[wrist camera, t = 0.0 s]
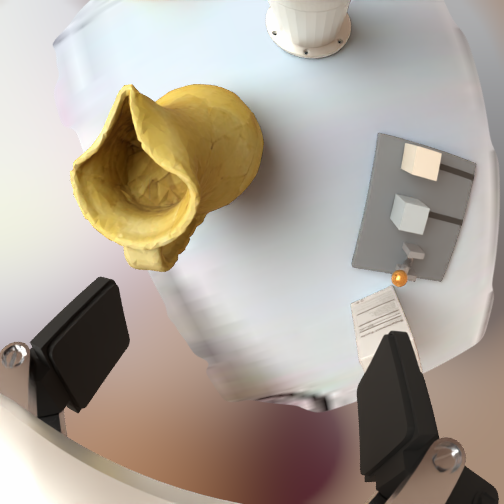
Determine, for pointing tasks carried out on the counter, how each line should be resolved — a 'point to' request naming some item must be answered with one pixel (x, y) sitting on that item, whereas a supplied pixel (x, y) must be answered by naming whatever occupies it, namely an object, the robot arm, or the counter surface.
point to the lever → (402, 273)
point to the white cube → (409, 214)
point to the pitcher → (166, 168)
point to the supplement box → (378, 323)
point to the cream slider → (421, 161)
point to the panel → (428, 192)
